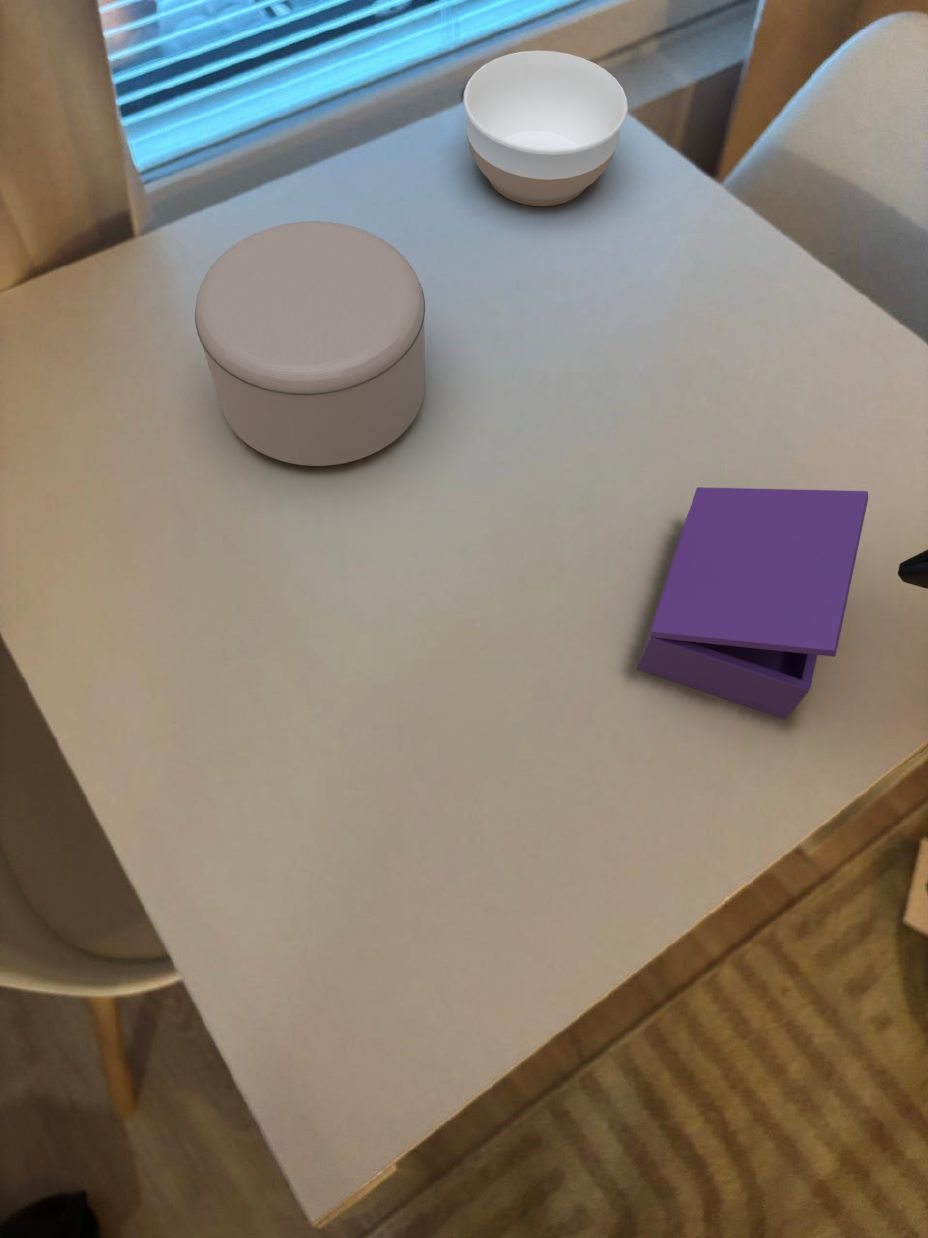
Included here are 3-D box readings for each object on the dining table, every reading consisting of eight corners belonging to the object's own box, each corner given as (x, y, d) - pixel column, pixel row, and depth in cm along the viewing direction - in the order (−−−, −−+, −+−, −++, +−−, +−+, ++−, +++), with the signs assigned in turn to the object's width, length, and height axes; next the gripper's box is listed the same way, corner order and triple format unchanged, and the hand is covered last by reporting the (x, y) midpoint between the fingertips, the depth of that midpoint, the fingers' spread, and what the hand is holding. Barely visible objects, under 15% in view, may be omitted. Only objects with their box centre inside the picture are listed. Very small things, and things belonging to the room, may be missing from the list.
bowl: (485, 235, 93) (489, 163, 86) (443, 135, 101) (444, 61, 94) (636, 209, 96) (652, 137, 89) (585, 113, 103) (596, 39, 96)
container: (180, 388, 83) (143, 283, 73) (338, 291, 89) (325, 182, 79) (307, 514, 77) (287, 420, 67) (468, 401, 83) (472, 299, 73)
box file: (818, 574, 76) (842, 539, 71) (785, 719, 70) (809, 691, 65) (680, 531, 77) (696, 493, 73) (636, 668, 71) (650, 637, 67)
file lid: (868, 498, 67) (867, 490, 66) (835, 657, 60) (834, 650, 60) (698, 493, 73) (696, 486, 72) (653, 637, 67) (650, 631, 66)
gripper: (1161, 303, 50) (871, 387, 62) (1153, 584, 42) (819, 621, 53) (1209, 441, 56) (936, 494, 68) (1211, 712, 48) (898, 720, 59)
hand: (900, 573), depth 62 cm, fingers closed
